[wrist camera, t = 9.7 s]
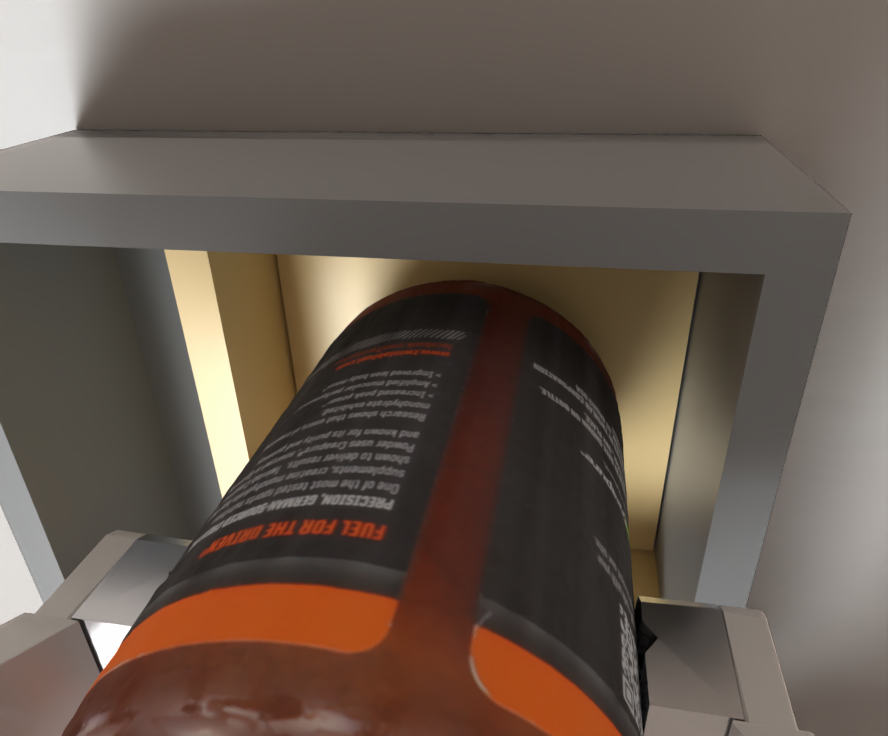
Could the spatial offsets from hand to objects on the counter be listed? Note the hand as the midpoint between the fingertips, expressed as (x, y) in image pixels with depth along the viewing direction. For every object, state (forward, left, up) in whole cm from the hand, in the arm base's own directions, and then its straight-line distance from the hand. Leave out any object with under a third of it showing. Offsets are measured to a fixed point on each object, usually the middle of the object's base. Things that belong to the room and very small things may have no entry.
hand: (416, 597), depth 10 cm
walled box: (-2, +2, -7) cm, 8 cm away
